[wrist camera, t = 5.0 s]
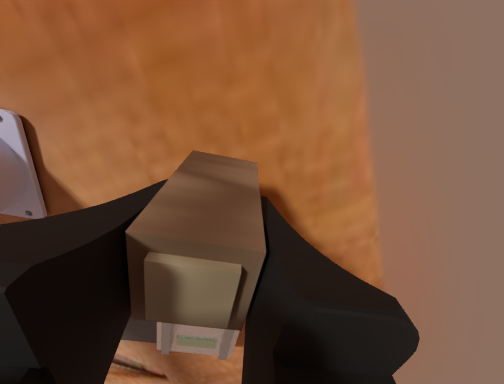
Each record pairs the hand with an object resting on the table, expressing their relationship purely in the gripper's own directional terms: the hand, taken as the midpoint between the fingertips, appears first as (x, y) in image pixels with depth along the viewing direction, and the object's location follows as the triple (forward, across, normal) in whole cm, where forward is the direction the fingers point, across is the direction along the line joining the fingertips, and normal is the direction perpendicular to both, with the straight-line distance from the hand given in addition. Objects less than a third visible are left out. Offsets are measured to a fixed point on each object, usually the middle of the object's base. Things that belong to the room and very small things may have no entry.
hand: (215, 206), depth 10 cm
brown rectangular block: (+2, 0, 0) cm, 2 cm away
